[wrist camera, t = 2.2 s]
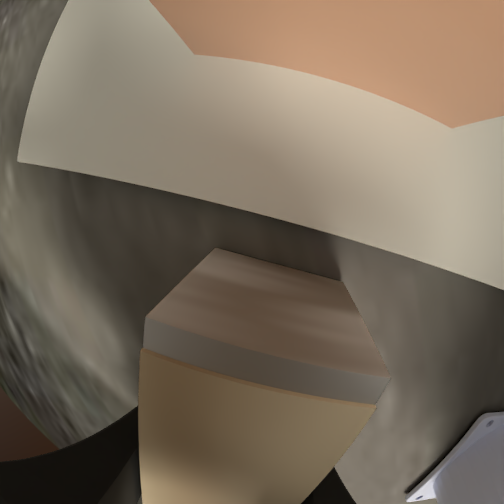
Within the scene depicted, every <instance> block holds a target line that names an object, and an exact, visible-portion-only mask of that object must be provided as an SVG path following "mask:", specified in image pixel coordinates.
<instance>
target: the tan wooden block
mask: <svg viewBox="0 0 504 504" xmlns="http://www.w3.org/2000/svg"><path fill="white" fill-rule="evenodd" d="M390 379H391V377H390V375H389V372H388V370H387V368H386V366H385V364H384V362H383V360H382V358H381V355H380V353H379V351H378V349H377V347H376V345H375V343H374V341H373V339H372V337H371V335H370V333H369V331H368V329H367V327H366V325H365V323H364V321H363V319H362V317H361V315H360V313H359V311H358V309H357V307H356V305H355V303H354V302H353V300H352V298H351V296H350V294H349V292H348V290H347V288H346V286H345V285H344V283H343V282H341V281H337V280H334V279H330V278H326V277H323V276H319V275H315V274H311V273H308V272H304V271H300V270H296V269H293V268H289V267H285V266H282V265H278V264H274V263H270V262H267V261H263V260H259V259H256V258H252V257H248V256H245V255H241V254H237V253H234V252H230V251H226V250H223V249H219V248H214V249H213V250H212V251H211V252H210V253H209V254H208V255H207V256H206V257H205V258H204V259H203V260H202V261H201V262H200V263H199V264H198V265H197V266H196V267H195V268H194V269H193V270H192V271H191V272H190V273H189V274H188V275H187V276H186V277H185V278H184V279H183V280H182V281H181V282H180V283H179V284H178V285H177V286H176V287H175V288H174V289H173V290H172V291H171V292H170V293H169V294H168V295H167V296H166V297H165V298H164V299H163V300H162V301H161V302H160V303H159V304H158V305H157V306H156V307H155V308H154V309H153V310H152V311H151V312H150V313H149V314H148V315H147V316H146V317H145V326H144V338H143V348H142V349H141V351H140V365H139V395H138V433H139V461H140V478H141V490H142V501H143V504H301V503H302V502H303V501H304V500H305V499H306V498H307V497H308V496H309V494H310V493H311V492H312V491H313V490H314V489H315V488H316V487H317V486H318V485H319V483H320V482H321V481H322V480H323V479H324V478H325V477H326V475H327V474H328V473H329V472H330V471H331V470H332V468H333V467H334V466H335V465H336V463H337V462H338V461H339V460H340V458H341V457H342V456H343V455H344V453H345V452H346V451H347V449H348V448H349V447H350V446H351V444H352V443H353V442H354V440H355V439H356V437H357V436H358V435H359V433H360V432H361V430H362V429H363V428H364V426H365V425H366V423H367V422H368V420H369V419H370V417H371V416H372V414H373V413H374V411H375V410H376V405H375V404H376V403H377V401H378V399H379V398H380V396H381V395H382V393H383V391H384V390H385V388H386V386H387V385H388V383H389V381H390Z"/></svg>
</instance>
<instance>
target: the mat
mask: <svg viewBox="0 0 504 504" xmlns="http://www.w3.org/2000/svg"><path fill="white" fill-rule="evenodd" d="M17 162H23V163H29V164H35V165H41V166H46V167H52V168H57V169H63V170H68V171H73V172H78V173H84V174H89V175H94V176H99V177H104V178H109V179H113V180H118V181H123V182H128V183H132V184H137V185H141V186H146V187H150V188H155V189H159V190H164V191H168V192H172V193H177V194H181V195H185V196H190V197H194V198H198V199H202V200H206V201H210V202H214V203H218V204H222V205H226V206H230V207H234V208H238V209H242V210H246V211H250V212H254V213H258V214H261V215H265V216H269V217H273V218H276V219H280V220H284V221H287V222H291V223H295V224H298V225H302V226H306V227H309V228H313V229H316V230H320V231H323V232H327V233H330V234H334V235H337V236H341V237H344V238H347V239H351V240H354V241H357V242H361V243H364V244H367V245H371V246H374V247H377V248H380V249H384V250H387V251H390V252H393V253H396V254H400V255H403V256H406V257H409V258H412V259H415V260H418V261H421V262H424V263H427V264H430V265H433V266H436V267H439V268H442V269H445V270H448V271H451V272H454V273H457V274H460V275H463V276H466V277H469V278H471V279H474V280H477V281H480V282H483V283H486V284H488V285H491V286H494V287H497V288H499V289H502V290H504V116H500V117H496V118H492V119H487V120H483V121H479V122H475V123H471V124H467V125H463V126H459V127H456V128H450V127H448V126H446V125H444V124H442V123H440V122H438V121H436V120H434V119H432V118H430V117H428V116H426V115H423V114H421V113H419V112H417V111H415V110H412V109H410V108H408V107H406V106H403V105H401V104H399V103H396V102H394V101H391V100H389V99H386V98H384V97H381V96H378V95H376V94H373V93H370V92H367V91H365V90H362V89H359V88H356V87H353V86H350V85H347V84H344V83H340V82H337V81H334V80H330V79H327V78H323V77H320V76H316V75H312V74H308V73H304V72H300V71H296V70H292V69H288V68H283V67H278V66H273V65H268V64H263V63H257V62H251V61H245V60H239V59H231V58H224V57H215V56H205V55H194V54H193V52H192V51H191V50H190V49H189V47H188V46H187V45H186V44H185V42H184V41H183V40H182V39H181V38H180V36H179V35H178V34H177V33H176V31H175V30H174V29H173V28H172V27H171V25H170V24H169V23H168V22H167V21H166V20H165V18H164V17H163V16H162V15H161V14H160V13H159V11H158V10H157V9H156V8H155V7H154V6H153V5H152V3H151V2H150V1H149V0H68V2H67V4H66V6H65V8H64V10H63V12H62V14H61V16H60V18H59V21H58V23H57V25H56V27H55V29H54V32H53V34H52V36H51V39H50V41H49V44H48V46H47V49H46V51H45V54H44V57H43V59H42V62H41V65H40V68H39V71H38V74H37V77H36V80H35V83H34V86H33V90H32V93H31V97H30V101H29V104H28V108H27V112H26V116H25V121H24V125H23V130H22V135H21V140H20V146H19V152H18V158H17Z"/></svg>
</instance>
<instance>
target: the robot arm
mask: <svg viewBox="0 0 504 504" xmlns="http://www.w3.org/2000/svg"><path fill="white" fill-rule="evenodd" d="M141 494H142V490H141V478H140V461H139V433H138V406H137V407H135V408H134V409H133V410H131V411H130V412H129V413H127V414H126V415H124V416H123V417H122V418H120V419H119V420H117V421H116V422H114V423H112V424H111V425H109V426H108V427H106V428H104V429H103V430H101V431H99V432H97V433H96V434H94V435H92V436H90V437H88V438H86V439H84V440H82V441H79V442H77V443H75V444H72V445H70V446H67V447H65V448H62V449H60V450H57V451H54V452H50V453H47V454H43V455H39V456H35V457H31V458H26V459H21V460H13V461H5V462H0V504H137V502H138V500H139V498H140V496H141ZM431 498H436V499H437V502H438V504H504V412H493V413H485V414H483V415H481V416H480V417H479V418H478V419H477V420H476V422H475V423H474V424H473V426H472V427H471V428H470V429H469V431H468V432H467V433H466V434H465V436H464V437H463V438H462V439H461V440H460V442H459V443H458V444H457V445H456V446H455V447H454V448H453V450H452V451H451V452H450V453H449V454H448V455H447V456H446V457H445V458H444V459H443V461H442V462H441V463H440V464H439V465H438V466H437V467H436V468H435V469H434V470H433V471H432V472H431V473H430V474H429V475H428V476H427V477H426V478H425V479H424V480H423V481H422V482H420V483H419V484H418V485H417V486H416V487H415V488H414V489H413V490H412V491H411V492H409V493H408V494H407V495H406V496H405V499H406V501H407V502H412V501H419V500H426V499H431ZM301 504H356V503H355V501H354V500H353V498H352V497H351V495H350V494H349V492H348V491H347V489H346V487H345V486H344V484H343V482H342V481H341V479H340V477H339V475H338V473H337V472H336V470H335V468H334V467H333V468H332V470H331V471H330V472H329V473H328V474H327V475H326V477H325V478H324V479H323V480H322V481H321V482H320V483H319V485H318V486H317V487H316V488H315V489H314V490H313V491H312V492H311V493H310V494H309V496H308V497H307V498H306V499H305V500H304V501H303V502H302V503H301Z"/></svg>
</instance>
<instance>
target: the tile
mask: <svg viewBox="0 0 504 504" xmlns="http://www.w3.org/2000/svg"><path fill="white" fill-rule="evenodd" d="M149 1H150V2H151V3H152V5H153V6H154V7H155V8H156V9H157V10H158V11H159V13H160V14H161V15H162V16H163V17H164V18H165V20H166V21H167V22H168V23H169V24H170V25H171V27H172V28H173V29H174V30H175V31H176V33H177V34H178V35H179V36H180V38H181V39H182V40H183V41H184V42H185V44H186V45H187V46H188V47H189V49H190V50H191V51H192V52H193V54H194V55H205V56H215V57H224V58H231V59H239V60H245V61H251V62H257V63H263V64H268V65H273V66H278V67H283V68H288V69H292V70H296V71H300V72H304V73H308V74H312V75H316V76H320V77H323V78H327V79H330V80H334V81H337V82H340V83H344V84H347V85H350V86H353V87H356V88H359V89H362V90H365V91H367V92H370V93H373V94H376V95H378V96H381V97H384V98H386V99H389V100H391V101H394V102H396V103H399V104H401V105H403V106H406V107H408V108H410V109H412V110H415V111H417V112H419V113H421V114H423V115H426V116H428V117H430V118H432V119H434V120H436V121H438V122H440V123H442V124H444V125H446V126H448V127H450V128H456V127H459V126H463V125H467V124H471V123H475V122H479V121H483V120H487V119H492V118H496V117H500V116H504V0H149Z"/></svg>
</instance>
